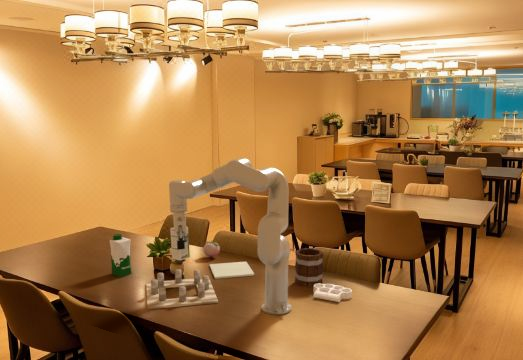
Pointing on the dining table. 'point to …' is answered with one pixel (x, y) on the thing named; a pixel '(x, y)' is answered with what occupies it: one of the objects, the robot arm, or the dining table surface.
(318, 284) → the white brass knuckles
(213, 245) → the decorative fruit
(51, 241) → the dining table surface
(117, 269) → the milk carton
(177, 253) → the syrup box
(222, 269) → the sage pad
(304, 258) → the mug
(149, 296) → the post board
